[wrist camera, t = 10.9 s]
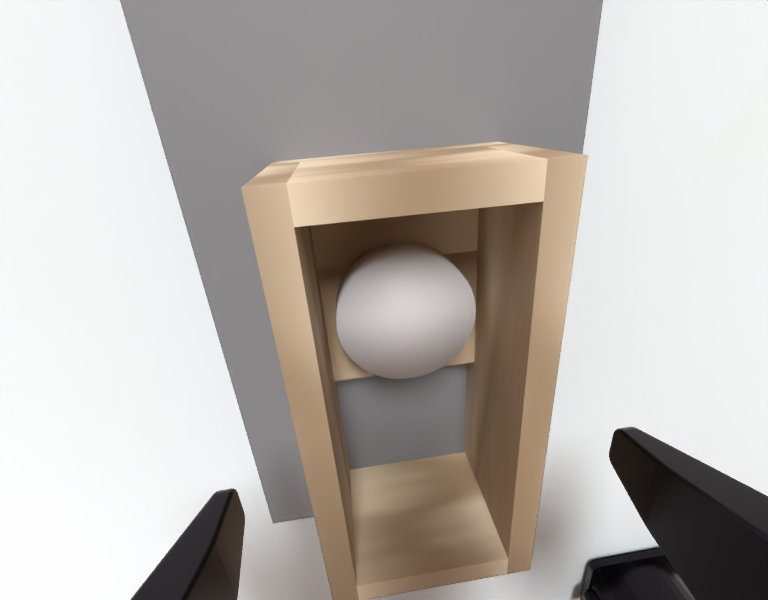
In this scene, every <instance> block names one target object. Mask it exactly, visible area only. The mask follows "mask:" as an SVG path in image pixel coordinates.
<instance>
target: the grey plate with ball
mask: <svg viewBox="0 0 768 600" xmlns="http://www.w3.org/2000/svg"><path fill="white" fill-rule="evenodd" d="M120 2H121V5H122V9H123V12H124V16H125V19H126V22H127V26H128V29H129V33H130V36H131V40H132V43H133V46H134V50H135V53H136V57H137V60H138V63H139V67H140V70H141V74H142V77H143V81H144V84H145V87H146V91H147V94H148V98H149V101H150V104H151V108H152V111H153V115H154V118H155V122H156V125H157V128H158V132H159V135H160V139H161V142H162V145H163V149H164V152H165V156H166V159H167V163H168V166H169V169H170V173H171V176H172V180H173V183H174V186H175V190H176V193H177V197H178V200H179V204H180V207H181V210H182V214H183V217H184V221H185V224H186V227H187V231H188V234H189V238H190V241H191V245H192V248H193V251H194V255H195V258H196V262H197V265H198V268H199V272H200V275H201V279H202V282H203V286H204V289H205V292H206V296H207V299H208V303H209V306H210V309H211V313H212V316H213V320H214V323H215V327H216V330H217V333H218V337H219V340H220V344H221V347H222V350H223V354H224V357H225V361H226V364H227V368H228V371H229V374H230V378H231V381H232V385H233V388H234V391H235V395H236V398H237V402H238V405H239V409H240V412H241V415H242V419H243V422H244V426H245V429H246V432H247V436H248V439H249V443H250V446H251V450H252V453H253V456H254V460H255V463H256V467H257V470H258V473H259V477H260V480H261V484H262V487H263V491H264V494H265V497H266V501H267V504H268V508H269V511H270V514H271V518H272V521H273V523H278V522H284V521H290V520H296V519H302V518H309V517H314V513H313V509H312V504H311V500H310V495H309V491H308V486H307V482H306V477H305V473H304V468H303V464H302V459H301V455H300V450H299V446H298V441H297V437H296V432H295V428H294V423H293V419H292V414H291V410H290V406H289V401H288V397H287V392H286V388H285V383H284V379H283V374H282V370H281V365H280V361H279V356H278V352H277V347H276V343H275V338H274V334H273V329H272V325H271V320H270V316H269V311H268V307H267V303H266V298H265V294H264V289H263V285H262V280H261V276H260V271H259V267H258V262H257V258H256V253H255V249H254V244H253V240H252V235H251V231H250V226H249V222H248V217H247V213H246V208H245V204H244V199H243V195H242V191H241V187H243V186H244V185H245V184H246V183H247V182H249V181H250V180H251V179H252V178H254V177H255V176H256V175H257V174H259V173H260V172H261V171H262V170H264V169H265V168H266V167H267V166H268V165H270V164H271V163H272V162H275V161H286V160H297V159H308V158H320V157H331V156H342V155H353V154H364V153H375V152H387V151H398V150H409V149H420V148H431V147H442V146H453V145H465V144H476V143H487V142H504V143H511V144H517V145H524V146H531V147H537V148H544V149H551V150H557V151H564V152H571V153H577V154H582V153H583V145H584V138H585V130H586V123H587V116H588V108H589V101H590V93H591V86H592V78H593V71H594V63H595V56H596V48H597V41H598V33H599V26H600V18H601V11H602V3H603V0H120ZM475 315H476V305H475V299H474V295H473V292H472V289H471V287H470V285H469V283H468V281H467V280H466V279H465V277H464V276H463V275H462V273H461V272H460V271H459V270H458V269H457V268H456V266H455V265H454V264H453V263H452V262H451V261H450V260H449V259H448V258H447V257H446V256H445V255H443V254H442V253H441V252H439V251H437V250H435V249H434V248H431V247H429V246H426V245H423V244H418V243H410V242H401V243H393V244H388V245H384V246H381V247H379V248H376V249H374V250H372V251H370V252H368V253H367V254H365V255H364V256H362V257H361V258H360V259H359V260H357V261H356V262H355V263H354V264H353V265H352V266H351V267H350V269H349V270H348V271H347V273H346V274H345V276H344V278H343V280H342V281H341V284H340V286H339V289H338V293H337V297H336V325H337V333H338V337H339V340H340V342H341V345H342V347H343V349H344V350H345V352H346V353H347V355H348V356H349V357H350V358H351V359H352V360H353V361H354V362H355V363H356V364H357V365H358V366H360V367H361V368H362V369H364V370H366V371H368V372H370V373H372V374H374V376H369V377H362V378H354V379H347V380H340V381H336V383H337V390H338V396H339V403H340V409H341V416H342V422H343V429H344V435H345V442H346V448H347V455H348V461H349V468H350V470H352V469H358V468H365V467H371V466H378V465H384V464H391V463H397V462H404V461H410V460H417V459H423V458H430V457H436V456H442V455H449V454H455V453H462V452H465V432H466V381H467V363H465V364H457V365H450V366H444V365H445V364H447V363H448V362H450V361H451V360H452V359H453V358H454V357H455V356H456V355H457V354H458V353H459V352H460V351H461V350H462V348H463V347H464V345H465V344H466V342H467V341H468V339H469V337H470V335H471V332H472V330H473V326H474V322H475Z"/></svg>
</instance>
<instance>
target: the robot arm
mask: <svg viewBox="0 0 768 600" xmlns="http://www.w3.org/2000/svg"><path fill="white" fill-rule="evenodd" d="M609 458H610V461H611V464H612V466H613V468H614V469H615V471H616V473H617V475H618V477H619V479H620V480H621V482H622V484H623V486H624V488H625V489H626V491H627V493H628V495H629V497H630V499H631V500H632V502H633V504H634V506H635V508H636V509H637V511H638V513H639V515H640V517H641V518H642V520H643V522H644V524H645V525H646V527H647V528H648V530H649V532H650V533H651V535H652V536H653V538H654V539H655V541H656V542H657V544H658V545H659V547H660V548H659V549H653V550H648V551H642V552H637V553H631V554H626V555H620V556H615V557H609V558H604V559H598V560H595V561H593V562H591V563H590V564H589V566H588V569H587V574H586V578H585V582H584V586H583V590H582V594H581V598H580V600H768V496H766V495H764V494H762V493H760V492H759V491H757V490H755V489H753V488H751V487H749V486H747V485H745V484H743V483H741V482H739V481H737V480H735V479H733V478H732V477H730V476H728V475H726V474H724V473H722V472H720V471H718V470H716V469H714V468H712V467H710V466H708V465H707V464H705V463H703V462H701V461H699V460H697V459H695V458H693V457H691V456H689V455H687V454H685V453H683V452H681V451H680V450H678V449H676V448H674V447H672V446H670V445H668V444H666V443H664V442H662V441H660V440H658V439H656V438H654V437H653V436H651V435H649V434H647V433H645V432H643V431H641V430H639V429H637V428H635V427H626V428H619V429H616V430H615V432H614V434H613V438H612V443H611V447H610V451H609ZM244 526H245V515H244V511H243V508H242V505H241V502H240V499H239V496H238V493H237V491H236V490H235V489H226V490H220V491H217V492H216V493H214V494H213V496H212V497H211V498H210V499H209V501H208V502H207V503H206V504H205V506H204V507H203V508H202V510H201V511H200V512H199V513H198V515H197V516H196V517H195V518H194V520H193V521H192V522H191V524H190V525H189V526H188V527H187V529H186V530H185V531H184V532H183V534H182V535H181V536H180V537H179V539H178V540H177V541H176V543H175V544H174V545H173V546H172V548H171V549H170V550H169V551H168V553H167V554H166V555H165V557H164V558H163V559H162V560H161V562H160V563H159V564H158V565H157V567H156V568H155V569H154V571H153V572H152V573H151V574H150V576H149V577H148V578H147V579H146V581H145V582H144V583H143V584H142V586H141V587H140V588H139V590H138V591H137V592H136V593H135V595H134V596H133V597H132V598H131V600H237V597H238V588H239V578H240V568H241V557H242V547H243V536H244Z"/></svg>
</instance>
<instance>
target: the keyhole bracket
mask: <svg viewBox="0 0 768 600" xmlns="http://www.w3.org/2000/svg"><path fill="white" fill-rule="evenodd" d="M587 158H588V155H584V154H577V153H571V152H564V151H557V150H551V149H544V148H537V147H531V146H524V145H517V144H511V143H504V142H487V143H476V144H465V145H453V146H442V147H431V148H420V149H409V150H398V151H387V152H375V153H364V154H353V155H342V156H331V157H320V158H308V159H297V160H286V161H275V162H272V163H271V164H270V165H268V166H267V167H266V168H265V169H264V170H262V171H261V172H260V173H259V174H257V175H256V176H255V177H254V178H252V179H251V180H250V181H249V182H247V183H246V184H245V185H244V186H243V187H241V191H242V195H243V199H244V204H245V208H246V213H247V217H248V222H249V226H250V231H251V235H252V240H253V244H254V249H255V253H256V258H257V262H258V267H259V271H260V276H261V280H262V285H263V289H264V294H265V298H266V303H267V307H268V311H269V316H270V320H271V325H272V329H273V334H274V338H275V343H276V347H277V352H278V356H279V361H280V365H281V370H282V374H283V379H284V383H285V388H286V392H287V397H288V401H289V406H290V410H291V414H292V419H293V423H294V428H295V432H296V437H297V441H298V446H299V450H300V455H301V459H302V464H303V468H304V473H305V477H306V482H307V486H308V491H309V495H310V500H311V504H312V509H313V513H314V518H315V522H316V526H317V531H318V535H319V540H320V544H321V549H322V553H323V558H324V562H325V567H326V571H327V576H328V580H329V585H330V589H331V594H332V598H333V600H367V599H372V598H378V597H383V596H389V595H394V594H400V593H405V592H411V591H416V590H422V589H427V588H433V587H438V586H444V585H449V584H455V583H460V582H466V581H471V580H477V579H482V578H488V577H493V576H499V575H504V574H510V573H515V572H521V571H526V570H530V567H531V560H532V553H533V546H534V538H535V531H536V524H537V517H538V510H539V503H540V495H541V488H542V481H543V474H544V467H545V459H546V452H547V445H548V438H549V431H550V423H551V416H552V409H553V402H554V395H555V388H556V380H557V373H558V366H559V359H560V352H561V344H562V337H563V330H564V323H565V316H566V309H567V301H568V294H569V287H570V280H571V273H572V265H573V258H574V251H575V244H576V237H577V229H578V222H579V215H580V208H581V201H582V194H583V186H584V179H585V172H586V165H587ZM401 242H410V243H418V244H423V245H426V246H429V247H431V248H434V249H435V250H437V251H439V252H441V253H442V254H443V255H445V256H446V257H447V258H448V259H449V260H450V261H451V262H452V263H453V264H454V265H455V266H456V268H457V269H458V270H459V271H460V272H461V273H462V275H463V276H464V277H465V279H466V280H467V281H468V283H469V285H470V287H471V289H472V292H473V295H474V299H475V305H476V315H475V322H474V326H473V330H472V332H471V335H470V337H469V339H468V341H467V342H466V344H465V345H464V347H463V348H462V350H461V351H460V352H459V353H458V354H457V355H456V356H455V357H454V358H453V359H452V360H451V361H450V362H448V363H447V364H445V365H444V366H450V365H457V364H465V363H467V381H466V432H465V452H462V453H455V454H449V455H442V456H436V457H430V458H423V459H417V460H410V461H404V462H397V463H391V464H384V465H378V466H371V467H365V468H358V469H352V470H350V468H349V461H348V455H347V448H346V442H345V435H344V429H343V422H342V416H341V409H340V403H339V396H338V390H337V383H336V381H340V380H347V379H354V378H362V377H369V376H374V374H372V373H370V372H368V371H366V370H364V369H362V368H361V367H360V366H358V365H357V364H356V363H355V362H354V361H353V360H352V359H351V358H350V357H349V356H348V355H347V353H346V352H345V350H344V349H343V347H342V345H341V342H340V340H339V337H338V333H337V325H336V297H337V293H338V289H339V286H340V284H341V281H342V280H343V278H344V276H345V274H346V273H347V271H348V270H349V269H350V267H351V266H352V265H353V264H354V263H355V262H356V261H357V260H359V259H360V258H361V257H362V256H364V255H365V254H367V253H368V252H370V251H372V250H374V249H376V248H379V247H381V246H384V245H388V244H393V243H401Z"/></svg>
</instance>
